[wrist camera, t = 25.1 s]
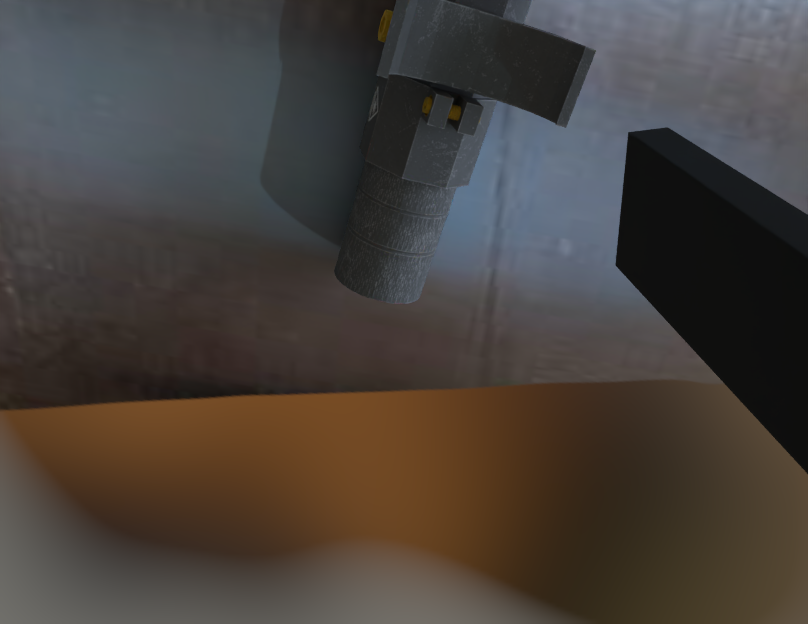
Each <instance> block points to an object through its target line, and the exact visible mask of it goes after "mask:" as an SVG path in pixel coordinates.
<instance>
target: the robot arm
mask: <svg viewBox="0 0 808 624" xmlns="http://www.w3.org/2000/svg"><path fill="white" fill-rule="evenodd" d="M616 266H617V267H618V268H619V270H620V271H621V272H622V273H623V274H624V275H625V276H626V277H627V278H628V279H629V280H630V282H631V283H632V284H633V285H634V286H635V287H636V288H637V289H638V290H639V291H640V292H641V293H642V295H643V296H644V297H645V298H646V299H647V300H648V301H649V302H650V303H651V304H652V305H653V306H654V308H655V309H656V310H657V311H658V312H659V313H660V314H661V315H662V316H663V317H664V318H665V320H666V321H667V322H668V323H669V324H670V325H671V326H672V327H673V328H674V329H675V330H676V331H677V333H678V334H679V335H680V336H681V337H682V338H683V339H684V340H685V341H686V342H687V343H688V344H689V346H690V347H691V348H692V349H693V350H694V351H695V352H696V353H697V354H698V355H699V356H700V357H701V359H702V360H703V361H704V362H705V363H706V364H707V365H708V366H709V367H710V368H711V369H712V371H713V372H714V373H715V374H716V375H717V376H718V377H719V378H720V379H721V380H722V381H723V382H724V384H725V385H726V386H727V387H728V388H729V389H730V390H731V391H732V392H733V393H734V394H735V395H736V396H737V398H738V399H739V400H740V401H741V402H742V403H743V404H744V405H745V406H746V407H747V408H748V410H749V411H750V412H751V413H752V414H753V415H754V416H755V417H756V418H757V419H758V420H759V421H760V423H761V424H762V425H763V426H764V427H765V428H766V429H767V430H768V431H769V432H770V433H771V435H772V436H773V437H774V438H775V439H776V440H777V441H778V442H779V443H780V444H781V445H782V446H783V448H784V449H785V450H786V451H787V452H788V453H789V454H790V455H791V456H792V457H793V458H794V460H795V461H796V462H797V463H798V464H799V465H800V466H801V467H802V468H803V469H804V470H805V471H806V472H807V474H808V215H807V214H805V213H804V212H802V211H801V210H799V209H797V208H796V207H794V206H793V205H791V204H789V203H788V202H786V201H785V200H783V199H781V198H780V197H778V196H777V195H775V194H773V193H772V192H770V191H769V190H767V189H765V188H764V187H762V186H761V185H759V184H757V183H756V182H754V181H753V180H751V179H749V178H748V177H746V176H745V175H743V174H741V173H740V172H738V171H737V170H735V169H733V168H732V167H730V166H729V165H727V164H725V163H724V162H722V161H721V160H719V159H717V158H716V157H714V156H713V155H711V154H709V153H708V152H706V151H705V150H703V149H701V148H700V147H698V146H697V145H695V144H693V143H692V142H690V141H689V140H687V139H685V138H684V137H682V136H681V135H679V134H677V133H676V132H674V131H673V130H671V129H669V128H660V129H651V130H643V131H635V132H628V142H627V153H626V163H625V173H624V183H623V194H622V204H621V214H620V225H619V235H618V245H617V256H616Z"/></svg>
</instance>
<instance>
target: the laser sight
mask: <svg viewBox="0 0 808 624" xmlns="http://www.w3.org/2000/svg"><path fill="white" fill-rule="evenodd" d="M531 1H532V0H396V4H395V8H394V11H390V10H387V9H386V10H385V12H384V14H383V16H382V18H381V22H380V26H379V31H378V40H379V41H381V42H385V44H384V48H383V52H382V56H381V59H380V63H379V67H378V70H377V74H376V75H377V76H379V77H378V81H377V85H376V88H375V92H374V96H373V99H372V103H371V107H370V110H369V114H368V118H367V121H366V125H365V129H364V132H363V136H362V140H361V143H360V150H361V152H362V154H363V156H364V159H365V164H364V167H363V171H362V175H361V177H360V180H359V184H358V188H357V192H356V196H355V199H354V203H353V207H352V210H351V213H350V216H349V219H348V223H347V227H346V232H345V235H344V239H343V242H342V246H341V250H340V253H339V257H338V260H337V263H336V266H335V270H334V273H335V276H336V277H337V279H338V280H339V281H340V282H341V283H342V284H343V285H344V286H346V287H347V288H349V289H350V290H352V291H354V292H356V293H358V294H360V295H362V296H365V297H367V298H370V299H374V300H377V301H381V302H386V303H394V304H405V303H411V302H414V301H416V300H418V299H419V297H420V295H421V292H422V289H423V285H424V283H425V280H426V277H427V274H428V270H429V267H430V265H431V262H432V259H433V256H434V254H435V251H436V248H437V245H438V242H439V238H440V235H441V232H442V229H443V226H444V223H445V221H446V218H447V215H448V212H449V209H450V206H451V203H452V199H453V196H454V194H455V191H456V188H457V187H460V186H467V185H468V184H469V181H470V178H471V175H472V173H473V170H474V167H475V164H476V161H477V158H478V155H479V152H480V149H481V146H482V143H483V141H484V138H485V135H486V132H487V129H488V126H489V123H490V120H491V117H492V114H493V112H494V109H495V106H496V103H497V101H501V102H504V103H507V104H509V105H512V106H515V107H518V108H521V109H524V110H526V111H529V112H531V113H534V114H536V115H539V116H541V117H543V118H546V119H548V120H550V121H552V122H554V123H556V125H558V126H562V127H565V128H566V126H567V124H568V121H569V119H570V116H571V114H572V111H573V108H574V106H575V103H576V101H577V98H578V96H579V93H580V90H581V88H582V85H583V83H584V80H585V78H586V75H587V72H588V70H589V67H590V65H591V62H592V60H593V57H594V54H595V52H596V50H593V49H591V48H588V47H586V46H583V45H580V44H578V43H575V42H573V41H570V40H568V39H565V38H563V37H560V36H558V35H555V34H552V33H550V32H546V31H543V30H540V29H537V28H534V27H531V26H527V25H524V22H525V19H526V16H527V13H528V10H529V7H530V4H531Z"/></svg>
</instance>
